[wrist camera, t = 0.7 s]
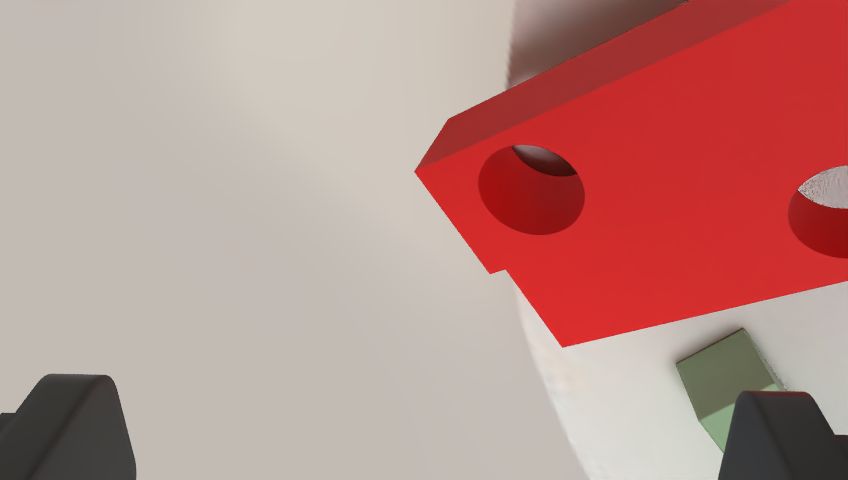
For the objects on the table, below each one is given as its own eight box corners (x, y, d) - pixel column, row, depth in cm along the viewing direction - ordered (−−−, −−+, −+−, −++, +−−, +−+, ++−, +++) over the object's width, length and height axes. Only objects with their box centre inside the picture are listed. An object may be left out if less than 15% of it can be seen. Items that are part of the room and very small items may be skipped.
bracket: (1117, 242, 21) (1037, 73, 29) (1004, -95, 18) (944, -191, 25) (557, 365, 32) (601, 219, 39) (414, 171, 29) (492, 50, 36)
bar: (675, 364, 37) (698, 420, 33) (743, 327, 36) (775, 382, 32) (803, 535, 42) (835, 601, 38) (866, 508, 41) (905, 573, 37)
